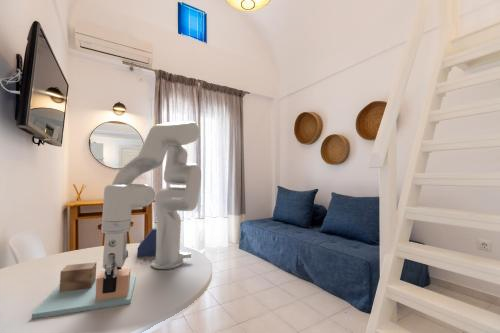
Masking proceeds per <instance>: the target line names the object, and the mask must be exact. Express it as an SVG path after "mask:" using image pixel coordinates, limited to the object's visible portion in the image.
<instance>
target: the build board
mask: <svg viewBox="0 0 500 333" xmlns="http://www.w3.org/2000/svg"><path fill="white" fill-rule="evenodd" d="M136 279H137V274H130V288H129V292H128V296H124V297H118V298H111V299H104V300H97V301H95V297H96V281H95V282H94V284H93V286H92V288H88V289H80V290H73V291H65V292H59V290H60V283H59V284H58V285H57V286H56V287H55V288H54V289H53V290H52V291H51V293H50V294H48V296H47V297H46V298H45V299H44V300H43V301H42V303H40V305H39V306H38V307H37V308H36V309H35V310H33V312H32V313H31V320H35V319H39V318H40V319H41V318H46V317H53V316H59V315H67V314H73V313H78V312H80V313H81V312H86V311H92V310H99V309H105V308H111V307H116V306H117V307H118V306H123V305H124V306H125V305H130V304H131V303H132V302H131V301H132V297H133V293H134V289H135V284H136Z"/></svg>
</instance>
